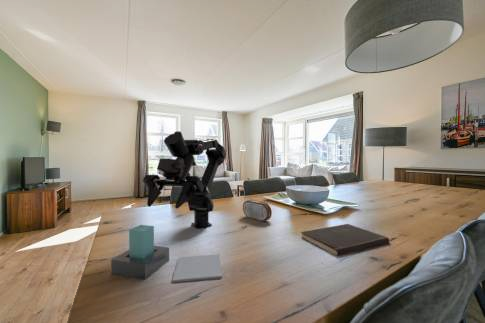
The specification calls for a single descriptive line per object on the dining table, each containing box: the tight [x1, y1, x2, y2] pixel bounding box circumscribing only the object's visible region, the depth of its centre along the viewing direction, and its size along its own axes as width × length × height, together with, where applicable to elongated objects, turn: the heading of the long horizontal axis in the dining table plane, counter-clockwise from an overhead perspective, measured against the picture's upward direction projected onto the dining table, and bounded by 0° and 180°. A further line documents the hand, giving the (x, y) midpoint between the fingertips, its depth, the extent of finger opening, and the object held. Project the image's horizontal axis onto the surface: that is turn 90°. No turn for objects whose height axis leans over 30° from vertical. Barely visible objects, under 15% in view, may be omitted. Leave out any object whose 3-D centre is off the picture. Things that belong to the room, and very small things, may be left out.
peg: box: [128, 224, 155, 259], centre depth 54 cm, size 4×4×10 cm
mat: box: [172, 253, 223, 283], centre depth 54 cm, size 11×11×1 cm
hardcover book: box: [300, 223, 390, 257], centre depth 72 cm, size 16×23×2 cm
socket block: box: [110, 245, 170, 281], centre depth 54 cm, size 9×9×4 cm
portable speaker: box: [242, 198, 273, 222], centre depth 95 cm, size 15×3×8 cm, turn 47°
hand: (162, 206), depth 61 cm, fingers open, 9 cm apart
